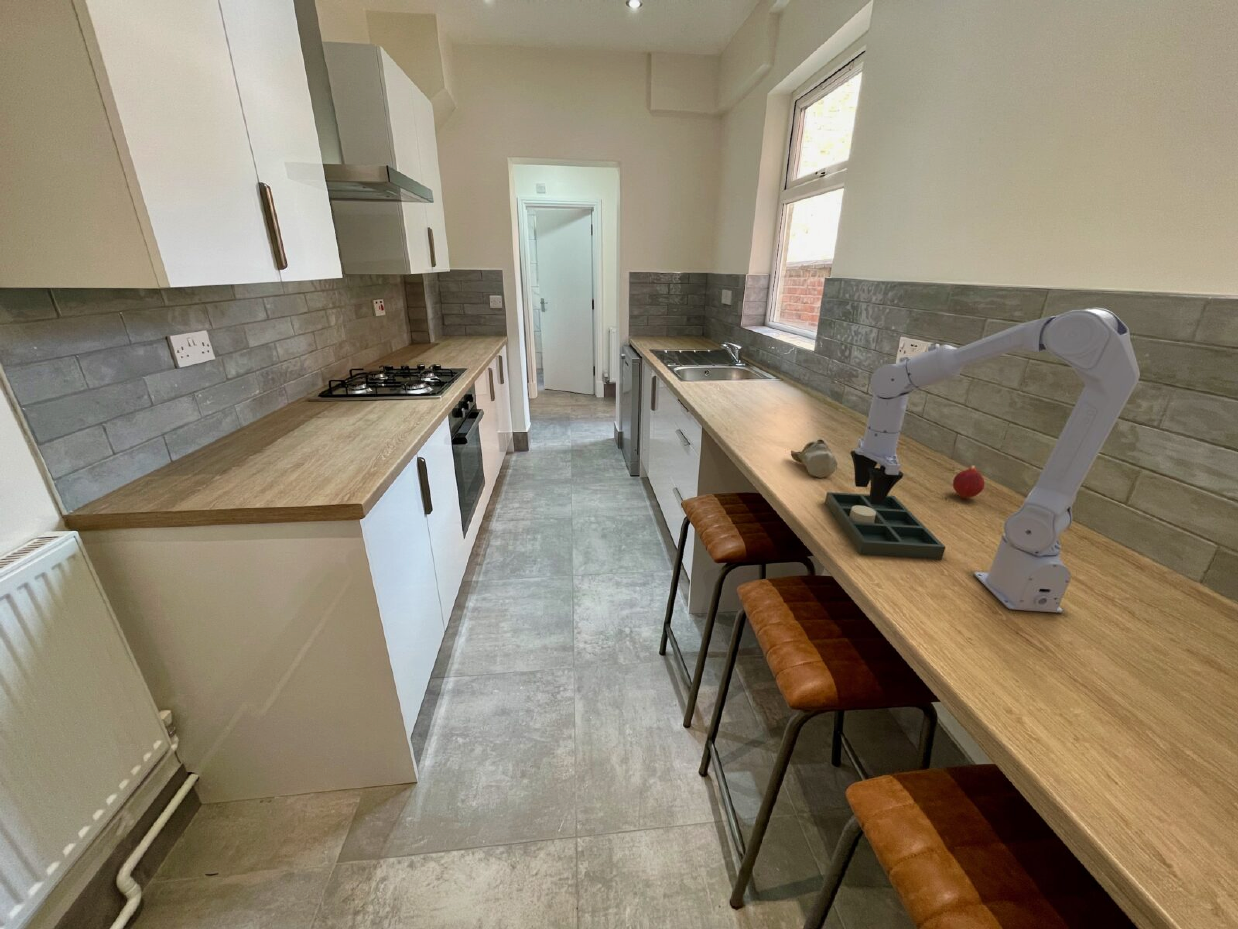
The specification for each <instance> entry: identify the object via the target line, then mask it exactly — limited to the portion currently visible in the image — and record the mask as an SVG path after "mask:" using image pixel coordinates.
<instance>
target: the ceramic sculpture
mask: <svg viewBox="0 0 1238 929" xmlns="http://www.w3.org/2000/svg"><path fill="white" fill-rule="evenodd" d="M790 456H791V458H792V460H794V461H795V462H797V463H800V464H803V465H804V466H805V468H806V470H807V472H808V474H809V475H810V476H812V477H816V478H819V479H820V478H822V479H823V478H827V477H830V476H831V475H833V474H834V473H835V471H836V470H837V468H838V465H839V463H838V461H837V459H836V457H835V455H833V452H832V450H831V449H830V447H829V445H828V444H827V443H826V442H825V441H824V440H823V439H817V441H810V442H808V443H807V444H805V445H804V447H803V449H802V450H801V451H794V450H791V451H790Z"/></svg>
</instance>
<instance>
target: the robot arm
mask: <svg viewBox="0 0 1238 929" xmlns="http://www.w3.org/2000/svg"><path fill="white" fill-rule="evenodd" d="M1019 350H1023V351H1029V352H1036V353H1040V352H1043V351H1047V352H1048V353H1049V354H1050V355H1052V356H1053V357H1055V358H1056V359H1058V360H1060V361H1062V362H1063V363H1064V364H1066V365H1068V366H1070V367H1071V369H1072V370H1073V371H1074V372H1075V373H1076V375H1077V376H1078V377H1079V379H1080V380H1081V381H1082V383H1083V384H1084V387H1083V389H1082V390H1081V393H1080V395H1079V397H1078V398H1077V401H1076V402H1075V404H1074V407H1073V408H1072V410H1071V413H1070V415H1069V416H1068V419H1067V421H1066V423H1065V425H1064V427H1063V429H1062V430H1061V432H1060V435H1059V437H1058V439H1057V441H1056V443H1055V445H1054V447H1053V449H1052V451H1051V453H1050V455H1049V457H1048V458H1047V461H1046V463H1045V465H1044V467H1043V468H1042V471H1041V473H1040V475H1039V476H1038V478H1037V480H1036V482H1035V484H1034V486H1033V487H1032V489H1031V490H1030V492H1029V494H1028V495H1027V497H1025V499H1024V501H1023V503H1022V505H1021V506H1020V508H1019V509H1018V510H1017V511H1015V512H1014V513H1012V514H1011V515H1009V516H1008V517H1007V518H1006V519H1005V521H1004V524H1003V533H1002V535H1001V537H1000V540H999V543H998V546H997V549H996V552H995V554H994V556H993V559H992V563H991V565H990V569H989V571H988V572H983V571H975V572H973V575H974V576H975V577H976V578H977V579H978V580H979V581H980V582H981V584H983V585H984V586H985V587H986V589H987V590H989V591H990V592H991V593H992V594H993V595H994V597H996V598H997V599H998V600H999V601H1000V602H1001V604H1003V605H1004V606H1005V607H1006V608H1007V609H1009V610H1017V611H1030V612H1031V611H1033V612H1046V613H1059V614H1060V613H1062V612H1063V608H1061V606H1060V604H1061V602H1062V600H1063V598H1064V595H1065V593H1066V590H1067V589H1068V587H1069V585H1070V584H1069V583H1070V581H1071V576H1072V575H1071V572H1070V570H1069V569H1068V567H1067V566H1066V565H1065V564H1064V563H1063V561H1062V558H1061V551H1062V548H1063V547H1062V546H1061V543H1060V539H1059V538H1060V536H1061V535H1062V534H1064V533H1065V532H1066V531H1067V530H1068V529H1070V527H1071V526H1072V523H1073V518H1074V517H1073V513H1072V508H1073V505H1074V503H1075V501H1076V499H1077V494H1078V492H1079V490H1080V488H1081V487H1082V484H1083V482H1084V481H1085V479H1086V477H1087V475H1088V474H1089V471H1090V470H1091V468H1092V466H1093V464H1094V463H1095V461H1096V459H1097V457H1098V455H1099V454H1100V452H1101V450H1102V448H1103V447H1104V444H1105V443H1106V441H1107V439H1108V437H1109V435H1110V433H1111V432H1112V430H1113V428H1114V426H1115V424H1116V423H1117V420H1118V419H1119V417H1120V415H1121V414H1122V411H1123V410H1124V408H1125V406H1126V404H1127V402H1128V401H1129V399H1130V397H1131V395H1132V393H1133V391H1134V390H1135V388H1136V386H1137V384H1138V382H1139V380H1140V377H1141V371H1140V367H1139V365H1138V361H1137V358H1136V354H1135V351H1134V348H1133V343H1132V341H1131V333H1130V328H1129V327H1128V326H1127V325H1126V324H1125V323H1124V321H1122V320H1121V318H1119V317H1118V316H1117V315H1116V314H1115V313H1114V312H1112V311H1111V310H1108V309H1107V308H1102V307H1090V308H1084V309H1074V310H1069V311H1066V312H1063V313H1061V314H1059V315H1053V316H1048V317H1047V316H1046V317H1043V318H1039V319H1038V318H1037V319H1034V320H1030V321H1026V322H1023V323H1020V324H1017V325H1015V326H1011V327H1009V328H1007V329H1004V330H1001V331H999V332H997V333H994V334H992V335H989V336H987V337H983V338H981V339H979V340H976V341H974V342H971V343H968V344H966V345H963V346H961V347H955V346H952V345H950V344H942V345H940V344H939V343H934V344H932V345H930V346H928V347H927V350H926V351H924V352H921V353H918V354H916V355H912V356H911V357H909V356H907V355H906V356H903V357H900V358H899V362H897V363H893V364H890V363H889V364H888V363H887V364H883V365H882V366H881V367H879V368H877V369H876V370H875V371H874V372H873V373H872V375H871V377H870V382H869V384H870V389H871V390H872V392H873V395H872V398H871V399H872V400H871V403H870V408H869V412H868V417H867V422H866V428H865V432H864V436H863V437H862V438H858V440H857V445H856V448H855V449H854V450H850V456H851V459H852V463H853V469H854V486H855V487H856V488H867V487H868V486H869V484H870V490H869V495H870V503H872V504H882V503H883V502H884V500H885V498H886V497H887V495H888V496H889V493H890V492H891V490H892V489H893V487H894V486H896V484H897V483H898V482H899V481H901V480H902V479H903V477H904V472H902V471H901V470H900V469H901V464H900V463H899V460H898V455H897V452H896V451H897V447H898V443H899V441H900V440H899V439H900V435H901V431H902V428H903V423H904V418H905V415H906V410H907V405H908V401H909V397H910V394H911V393H912V392H914V391H917V390H920V389H925V388H927V387H930V386H933V385H937V384H939V383H942V382H947V381H949V380H953V379H956V378H957V377H959V376H960V374H961V373H962V371H963V369H964V368H965V367H966V366H970V365H972V364H976V363H979V362H983V361H986V360H990V359H992V358H995V357H1000V356H1002V355H1006V354H1009V353H1012V352H1015V351H1016V352H1017V351H1019ZM877 465H879V467H876V466H877Z"/></svg>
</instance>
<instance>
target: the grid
mask: <svg viewBox="0 0 1238 929" xmlns="http://www.w3.org/2000/svg"><path fill="white" fill-rule="evenodd" d="M824 504H825V505H826V507H827V508H828V510H829V511H830V513H831V514H832V515H833V517H834V519H835V520H836V521H837V523H838V524H839V526H840V527H841V529H842V530H843V532H844V533H845V535H846V536H847V537H848V539H849V541H851V543H852V545H853V546H854V548H855V549H856V550H857V552H858V554H860V555H864V556H865V555H866V556H882V557H884V556H885V557H899V558H915V559H917V558H918V559H931V560H932V559H933V560H943V557H944V554H945V551H946V546H945V545H944V544H943V543H942V542H941V541H940V539H938V538H937V537H936V536H935V534H934V533H932V532H931V531H930V530H929V529H928V528H927V527H926V526H925V525H924V524H923V523H922V522H921V521H920V519H918V518H917V517H916V515H914V514H913V512H911V511H910V510H909V509H908V508H907V507H906V506H905V505H904V504H903V503H902V502H901V501H900V500H899V499H898V497H896V496H895V495H889V494H888V495H887V497H886V498H885V500H884V502H883V503H882V504H872V503H870V493H869V494H867V493H851V492H850V493H849V492H830V491H829V492H828V491H827V492H826V495H825V500H824ZM856 505H860V506H866V507H869V508H872V509H873V510H875V511H876V516H875V520H874V523H858V522H852V521H851V520H850V518H849V517H850V512H851V508H852V507H853V506H856Z"/></svg>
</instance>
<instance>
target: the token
mask: <svg viewBox="0 0 1238 929" xmlns="http://www.w3.org/2000/svg"><path fill="white" fill-rule="evenodd" d="M875 516H876V511H875V510H873V509H872V508H869V507H866V506H860V505H856V506H853V507H852V508H851V512H850V517H849V518H850V520H851V521H852V522H858V523H874V520H875Z"/></svg>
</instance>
